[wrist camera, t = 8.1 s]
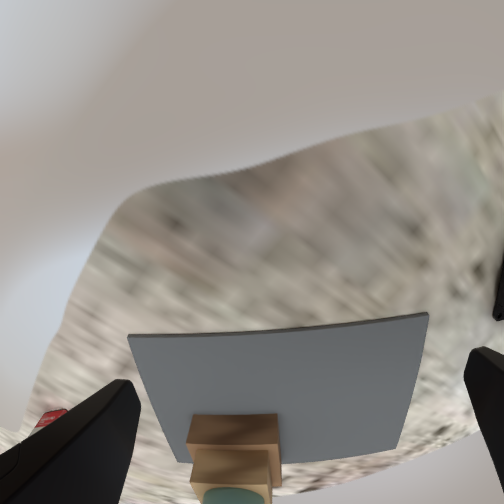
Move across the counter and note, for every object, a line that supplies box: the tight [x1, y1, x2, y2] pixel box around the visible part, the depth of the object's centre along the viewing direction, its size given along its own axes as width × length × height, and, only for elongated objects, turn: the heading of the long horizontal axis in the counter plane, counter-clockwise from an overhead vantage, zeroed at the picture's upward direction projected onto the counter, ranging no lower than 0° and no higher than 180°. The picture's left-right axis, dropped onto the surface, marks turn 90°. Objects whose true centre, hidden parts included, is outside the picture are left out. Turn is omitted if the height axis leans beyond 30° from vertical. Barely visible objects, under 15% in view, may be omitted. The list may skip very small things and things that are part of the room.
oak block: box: [190, 449, 272, 504], centre depth 21 cm, size 6×6×3 cm
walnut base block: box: [186, 413, 282, 487], centre depth 24 cm, size 7×7×3 cm
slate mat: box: [127, 313, 429, 464], centre depth 24 cm, size 22×16×1 cm
